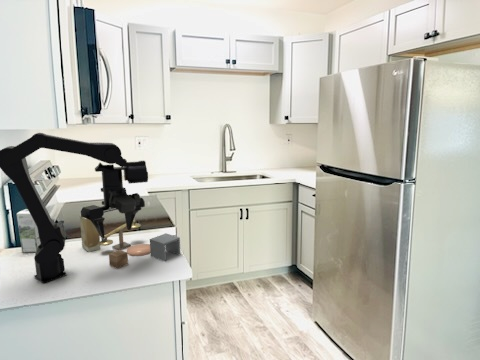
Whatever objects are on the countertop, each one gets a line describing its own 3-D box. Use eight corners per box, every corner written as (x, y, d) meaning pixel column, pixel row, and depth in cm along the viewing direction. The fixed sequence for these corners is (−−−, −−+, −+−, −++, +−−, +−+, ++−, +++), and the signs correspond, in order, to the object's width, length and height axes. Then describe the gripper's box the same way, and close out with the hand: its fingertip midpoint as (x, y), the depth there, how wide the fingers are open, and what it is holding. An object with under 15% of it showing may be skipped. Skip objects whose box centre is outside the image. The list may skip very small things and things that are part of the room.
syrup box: (46, 246, 125) (42, 207, 122) (38, 253, 119) (32, 212, 117) (30, 246, 125) (25, 208, 122) (21, 253, 119) (15, 212, 116)
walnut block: (117, 268, 107) (116, 256, 106) (109, 265, 109) (108, 253, 109) (128, 264, 110) (127, 252, 109) (120, 261, 112) (119, 249, 112)
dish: (137, 258, 114) (137, 255, 114) (121, 251, 120) (121, 249, 120) (158, 249, 121) (158, 247, 121) (142, 244, 127) (142, 241, 127)
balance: (104, 256, 116) (102, 230, 115) (97, 252, 119) (95, 227, 117) (144, 242, 129) (142, 218, 127) (136, 239, 131) (135, 216, 130)
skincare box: (81, 247, 124) (78, 214, 122) (93, 244, 127) (91, 212, 125) (88, 252, 119) (85, 218, 117) (101, 249, 122) (98, 215, 120)
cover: (164, 261, 112) (163, 243, 111) (150, 255, 116) (149, 239, 115) (180, 254, 117) (179, 237, 116) (166, 249, 122) (165, 233, 121)
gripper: (98, 194, 93) (103, 248, 96) (154, 183, 107) (156, 231, 110) (77, 188, 99) (82, 240, 102) (132, 179, 114) (135, 224, 117)
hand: (116, 233), depth 108 cm, fingers open, 9 cm apart
